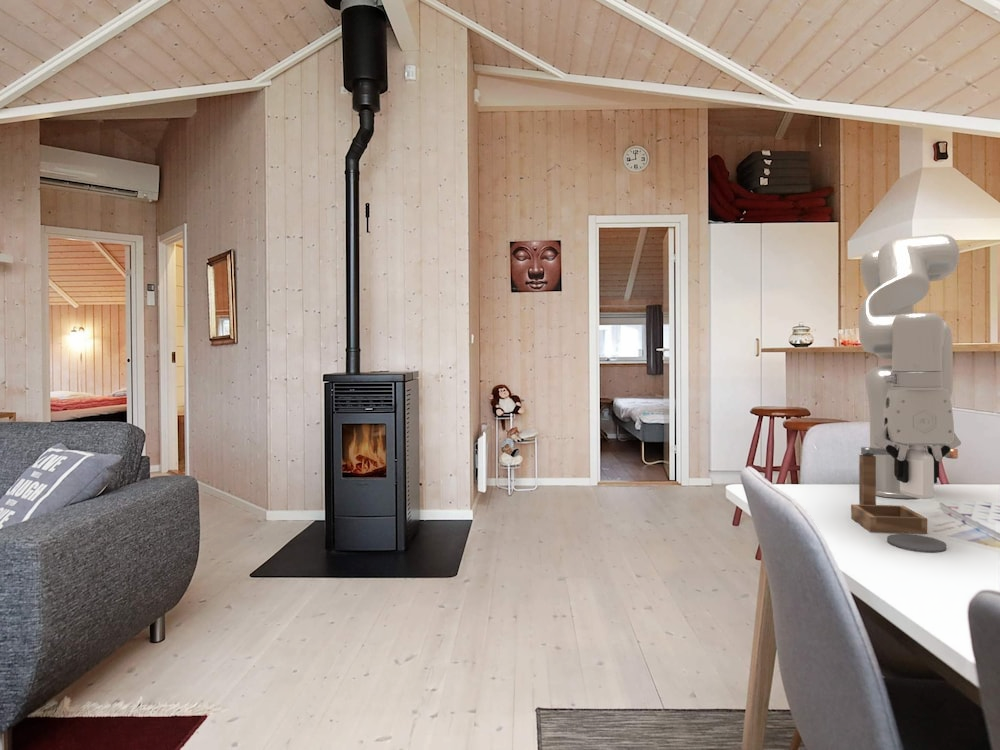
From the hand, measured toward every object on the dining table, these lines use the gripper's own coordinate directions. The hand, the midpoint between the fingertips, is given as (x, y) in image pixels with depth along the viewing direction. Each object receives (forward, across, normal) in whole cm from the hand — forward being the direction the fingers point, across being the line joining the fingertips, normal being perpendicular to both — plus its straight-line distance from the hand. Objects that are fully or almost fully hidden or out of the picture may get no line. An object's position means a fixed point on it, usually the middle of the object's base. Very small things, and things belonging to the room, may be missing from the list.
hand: (916, 480), depth 111 cm
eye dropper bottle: (+3, 0, 0) cm, 3 cm away
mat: (+12, 0, 0) cm, 12 cm away
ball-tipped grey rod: (-1, +8, +21) cm, 22 cm away
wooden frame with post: (+12, 0, +15) cm, 19 cm away
